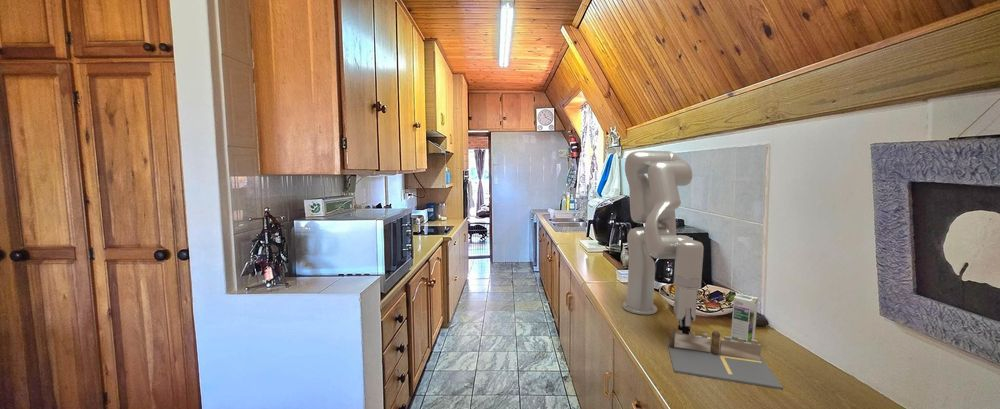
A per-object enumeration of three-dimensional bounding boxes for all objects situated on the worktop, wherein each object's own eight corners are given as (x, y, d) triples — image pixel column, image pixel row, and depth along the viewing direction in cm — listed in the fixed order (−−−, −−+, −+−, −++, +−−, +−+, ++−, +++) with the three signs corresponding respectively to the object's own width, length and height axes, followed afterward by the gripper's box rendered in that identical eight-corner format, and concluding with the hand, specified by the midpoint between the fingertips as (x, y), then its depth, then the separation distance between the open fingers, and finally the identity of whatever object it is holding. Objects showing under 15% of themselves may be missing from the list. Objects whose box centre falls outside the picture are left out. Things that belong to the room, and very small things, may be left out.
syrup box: (729, 341, 124) (733, 296, 122) (734, 335, 128) (737, 292, 126) (750, 347, 120) (754, 301, 118) (754, 340, 124) (758, 296, 122)
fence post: (709, 352, 116) (711, 329, 115) (757, 359, 112) (760, 335, 111) (711, 356, 114) (712, 332, 113) (760, 363, 110) (762, 338, 109)
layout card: (666, 342, 122) (667, 340, 122) (758, 355, 115) (759, 353, 115) (674, 372, 105) (674, 369, 105) (782, 389, 98) (782, 387, 98)
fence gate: (708, 349, 116) (710, 333, 115) (709, 352, 114) (711, 335, 114) (668, 344, 119) (669, 328, 118) (669, 346, 117) (670, 330, 117)
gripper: (670, 273, 126) (667, 327, 128) (677, 287, 112) (673, 348, 114) (696, 275, 124) (692, 330, 126) (706, 289, 110) (701, 352, 112)
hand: (683, 338), depth 120 cm, fingers closed
